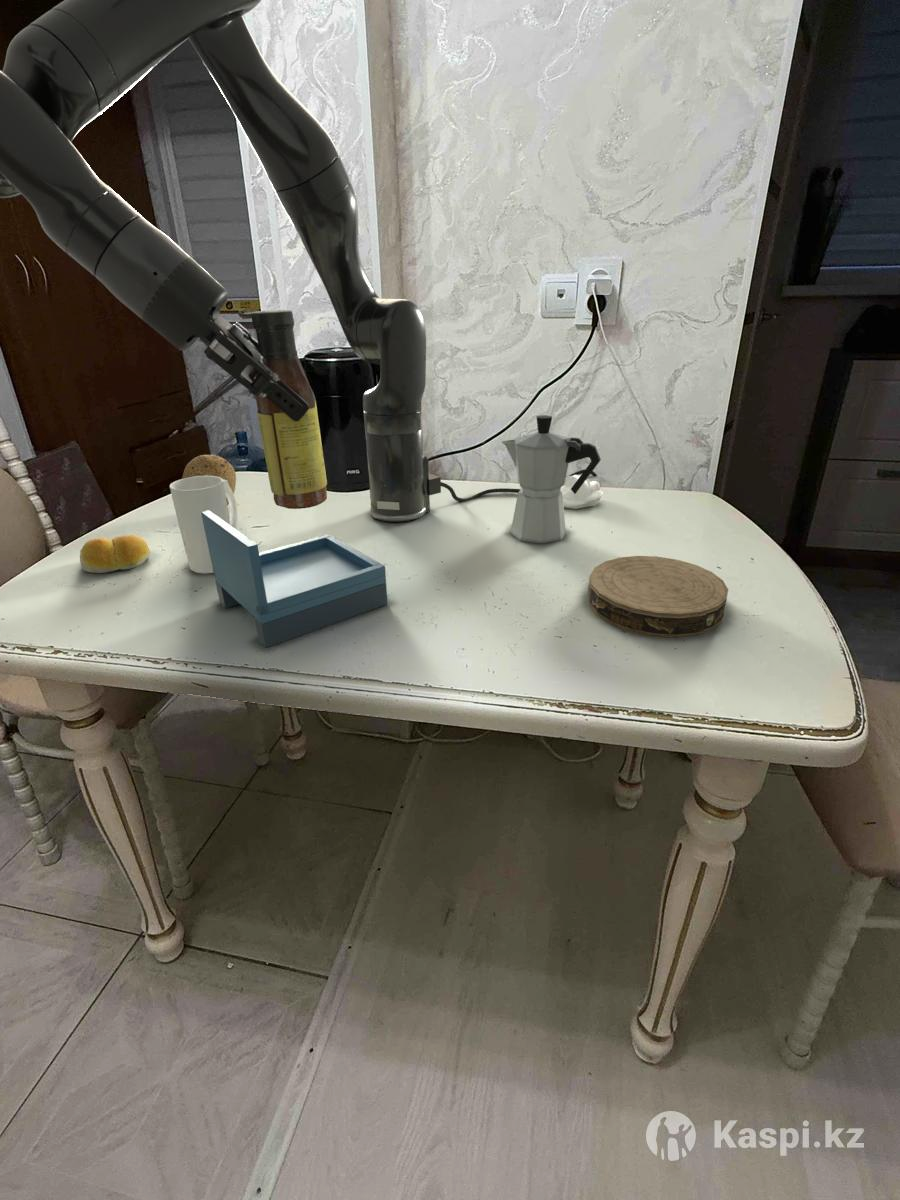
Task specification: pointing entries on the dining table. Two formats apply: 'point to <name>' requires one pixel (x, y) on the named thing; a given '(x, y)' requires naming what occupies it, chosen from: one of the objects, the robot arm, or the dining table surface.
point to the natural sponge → (211, 469)
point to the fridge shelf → (292, 581)
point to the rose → (580, 493)
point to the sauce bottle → (289, 419)
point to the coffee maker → (545, 480)
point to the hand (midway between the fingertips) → (304, 408)
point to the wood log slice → (657, 596)
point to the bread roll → (113, 554)
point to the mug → (190, 503)
